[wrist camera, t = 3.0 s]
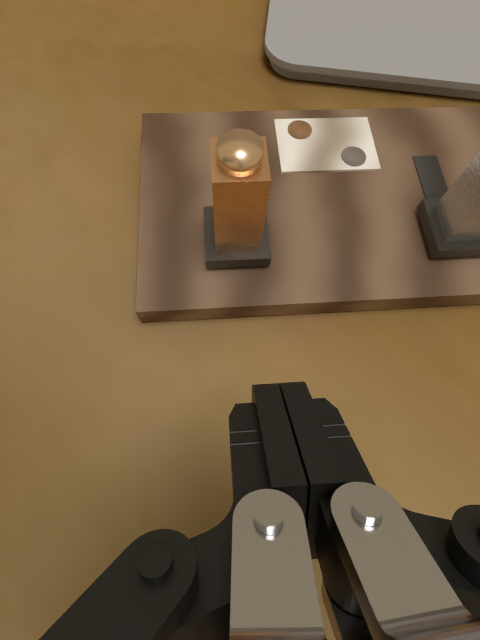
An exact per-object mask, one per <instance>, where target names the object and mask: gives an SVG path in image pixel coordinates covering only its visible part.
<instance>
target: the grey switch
mask: <svg viewBox="0 0 480 640" xmlns="http://www.w3.org/2000/svg"><path fill="white" fill-rule="evenodd" d="M416 209H417V212H418V215H419V219H420V222H421V226H422V229H423V232H424V236H425V239H426V243H427V246H428V249H429V253H430V256H431V258H450V257H472V256H480V152H479V153H478V154H477V156H476V157H475V158H474V159H473V161H472V162H471V163H470V164H469V165H468V167H467V168H466V169H465V170H464V171H463V173H462V174H461V175H460V176H459V177H458V179H457V180H456V181H455V182H454V183H453V185H452V186H451V187H450V188H449V190H448V191H447V192H446V193H445V194H444V196H443V197H442V198H429V199H422V201H421V202H420V203H419V205H418V206H417V207H416Z"/></svg>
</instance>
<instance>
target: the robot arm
mask: <svg viewBox="0 0 480 640" xmlns="http://www.w3.org/2000/svg"><path fill="white" fill-rule="evenodd" d="M229 430H230V451H231V469H232V485H233V505H232V507H231V510H230V512H229V513H228V515H227V516H226V518H225V519H224V520H223V521H222V522H221V523H220V524H219V525H217V526H216V527H214V528H213V529H211V530H209V531H207V532H205V533H202V534H200V535H198V536H195V537H193V538H191V539H188V538H187V537H186V536H185V535H183V534H182V533H180V532H178V531H174V530H170V529H159V530H154V531H151V532H148V533H146V534H144V535H142V536H140V537H139V538H137V539H136V540H135V541H133V542H132V543H131V544H130V545H129V546H128V547H127V548H126V549H125V550H124V551H123V552H122V553H121V554H120V556H119V557H118V558H117V559H116V560H115V561H114V562H113V563H112V564H111V565H110V566H109V567H108V568H107V569H106V570H105V571H104V572H103V573H102V574H101V575H100V576H99V577H98V578H97V579H96V581H95V582H94V583H93V584H92V585H91V586H90V587H89V588H88V589H87V590H86V591H85V592H84V593H83V594H82V595H81V596H80V597H79V598H78V599H77V600H76V601H75V602H74V603H73V604H72V606H71V607H70V608H69V609H68V610H67V611H66V612H65V613H64V614H63V615H62V616H61V617H60V618H59V619H58V620H57V621H56V622H55V623H54V624H53V625H52V626H51V627H50V628H49V629H48V631H47V632H46V633H45V634H44V635H43V636H42V637H41V638H40V639H39V640H327V639H326V636H325V632H324V627H323V622H322V616H321V610H320V605H319V599H318V593H317V587H316V582H315V576H314V570H313V564H312V559H318V561H319V564H320V568H321V572H322V576H323V578H322V588H321V591H322V598H323V602H324V605H325V608H326V611H327V614H328V617H329V620H330V623H331V627H332V630H333V633H334V636H335V639H336V640H480V505H466V506H463V507H461V508H459V509H458V510H457V511H456V512H455V513H454V515H453V517H452V520H447V519H443V518H438V517H433V516H428V515H424V514H419V513H415V512H412V511H409V510H406V509H404V508H402V507H401V506H400V505H399V503H398V502H397V501H396V500H395V498H394V497H393V496H392V495H390V494H389V493H388V492H387V491H385V490H383V489H382V488H380V487H378V486H376V484H375V483H374V481H373V479H372V477H371V475H370V473H369V471H368V469H367V467H366V465H365V463H364V461H363V459H362V457H361V455H360V453H359V451H358V449H357V447H356V445H355V443H354V441H353V439H352V437H350V433H349V431H348V429H347V427H346V426H345V424H344V421H343V419H342V417H341V415H340V413H339V411H338V409H337V408H336V407H334V406H333V405H332V404H331V403H330V402H329V401H327V400H326V399H325V398H317V399H312V397H311V395H310V393H309V390H308V388H307V385H306V383H305V382H289V383H279V384H277V383H275V384H259V385H252V403H242V404H235V406H234V408H233V410H232V412H231V413H230V415H229Z"/></svg>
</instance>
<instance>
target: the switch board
mask: <svg viewBox="0 0 480 640" xmlns="http://www.w3.org/2000/svg"><path fill="white" fill-rule="evenodd" d="M237 128H242V129H247V130H250V131H253V132H254V133H256V134H257V135H258V136H266V144H267V152H268V160H269V167H270V175H271V185H270V191H269V198H268V204H267V210H266V215H267V224H268V233H269V241H270V250H271V263H270V266H253V267H231V268H209V269H206V259H205V236H204V212H203V207H206V206H213V193H212V174H211V156H210V138H216V137H220V136H221V135H222V134H223V133H224V132H226V131H228V130H231V129H237ZM479 152H480V107H433V108H386V109H338V110H290V111H242V112H195V113H147V114H142V142H141V172H140V201H139V231H138V261H137V291H136V313H137V315H138V316H139V318H140V320H141V321H142V323H145V322H163V321H182V320H201V319H219V318H238V317H257V316H275V315H294V314H313V313H332V312H350V311H369V310H388V309H406V308H425V307H444V306H462V305H480V256H472V257H450V258H431V256H430V253H429V249H428V246H427V243H426V239H425V236H424V232H423V229H422V226H421V222H420V219H419V215H418V212H417V209H416V207H417V206H418V205H419V203H420V202H421V201H422V199H429V198H442V197H443V196H444V194H445V193H446V192H447V191H448V190H449V188H450V187H451V186H452V185H453V183H454V182H455V181H456V180H457V179H458V177H459V176H460V175H461V174H462V173H463V171H464V170H465V169H466V168H467V167H468V165H469V164H470V163H471V162H472V161H473V159H474V158H475V157H476V156H477V154H478V153H479Z"/></svg>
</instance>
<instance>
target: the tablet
mask: <svg viewBox="0 0 480 640" xmlns="http://www.w3.org/2000/svg"><path fill="white" fill-rule="evenodd" d="M264 49H265V53H266V55H267V57H268V58H269V59H270V63H271V66H272V68H273V69H274V70H275V71H276V72H277V73H278V74H280V75H282V76H284V77H287V78H290V79H297V80H307V81H316V82H325V83H334V84H343V85H352V86H361V87H370V88H379V89H388V90H397V91H406V92H415V93H424V94H433V95H442V96H452V97H461V98H470V99H479V100H480V0H270V4H269V12H268V20H267V27H266V35H265V45H264Z"/></svg>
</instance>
